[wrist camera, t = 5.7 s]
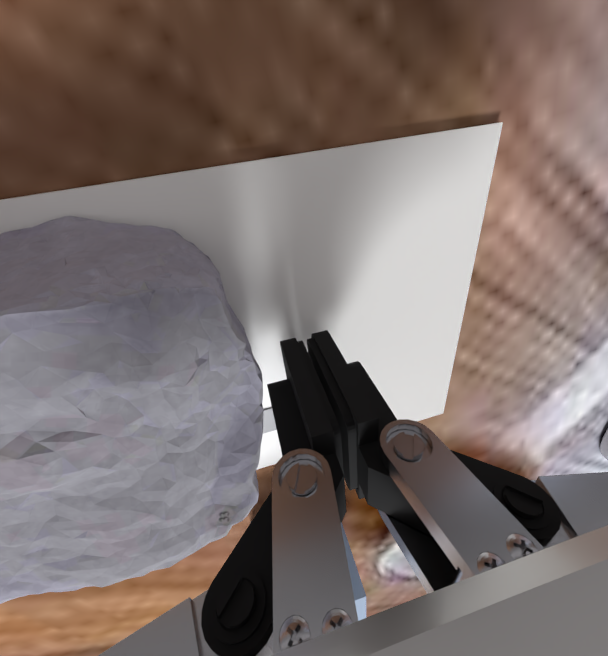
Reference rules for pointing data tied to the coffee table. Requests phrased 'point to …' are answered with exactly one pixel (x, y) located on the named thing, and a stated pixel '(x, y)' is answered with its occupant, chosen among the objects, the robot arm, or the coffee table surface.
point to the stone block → (118, 405)
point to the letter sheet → (325, 250)
